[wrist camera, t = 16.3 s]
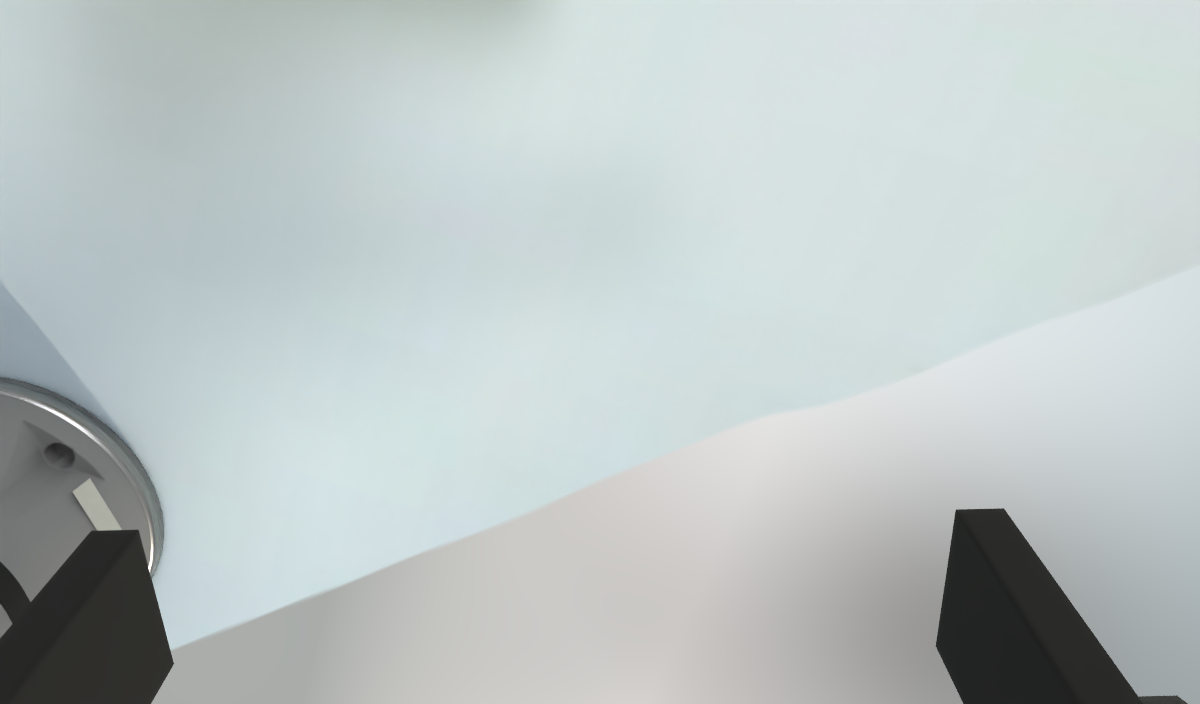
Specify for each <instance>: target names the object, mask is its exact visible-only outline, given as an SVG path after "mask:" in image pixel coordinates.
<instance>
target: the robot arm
mask: <svg viewBox="0 0 1200 704" xmlns="http://www.w3.org/2000/svg"><path fill="white" fill-rule="evenodd" d="M163 538H164V528H163V517H162V511H161V507H160V503H159V499H158V497H157V494H156V491H155V489H154V486H153V484H152V482H151V480H150V478H149V476H148V474H147V472H146V471H145V469H144V468H143V466H142V464H141V463H140V461H139V460H138V459H137V457H136V456H135V455H134V453H133V452H132V450H131V449H130V448H129V447H128V446H127V445H126V444H125V443H124V441H123V440H122V439H121V438H120V437H119V436H118V435H117V434H116V433H115V432H113V431H112V430H111V429H110V428H109V427H108V426H107V425H105V424H104V423H103V422H102V421H101V420H99V419H98V418H97V417H95V416H94V415H92V414H91V413H90V412H88V411H87V410H85V409H84V408H82V407H80V406H79V405H77V404H75V403H73V402H72V401H70V400H68V399H66V398H64V397H62V396H60V395H58V394H56V393H53V392H51V391H48V390H46V389H43V388H41V387H38V386H35V385H32V384H28V383H25V382H21V381H17V380H12V379H8V378H1V377H0V704H151V702H152V701H153V699H154V697H155V695H156V694H157V692H158V690H159V689H160V687H161V685H162V683H163V681H164V680H165V678H166V677H167V675H168V673H169V671H170V669H171V668H172V666H173V664H174V663H173V659H172V655H171V651H170V648H169V644H168V640H167V636H166V632H165V629H164V625H163V621H162V617H161V613H160V609H159V606H158V602H157V598H156V594H155V590H154V586H153V583H152V579H151V578H152V576H153V574H154V572H155V570H156V568H157V565H158V563H159V560H160V556H161V552H162V548H163ZM936 647H937V649H938V652H939V654H940V655H941V658H942V660H943V662H944V664H945V666H946V668H947V670H948V672H949V674H950V676H951V679H952V681H953V683H954V685H955V687H956V689H957V691H958V693H959V695H960V697H961V699H962V701H963V704H1187V703H1186V702H1185V701H1183V700H1182V699H1181V698H1179V697H1178V696H1150V697H1149V696H1146V697H1138V696H1137V694H1136V693H1135V692H1134V690H1133V689H1132V687H1131V686H1130V685H1129V683H1128V682H1127V681H1126V679H1125V678H1124V676H1123V675H1122V673H1121V672H1120V671H1119V669H1118V668H1117V666H1116V665H1115V664H1114V662H1113V661H1112V659H1111V658H1110V657H1109V655H1108V654H1107V652H1106V651H1105V650H1104V648H1103V647H1102V646H1101V644H1100V643H1099V641H1098V640H1097V638H1096V637H1095V636H1094V634H1093V633H1092V631H1091V630H1090V629H1089V627H1088V626H1087V624H1086V623H1085V622H1084V620H1083V619H1082V617H1081V616H1080V615H1079V613H1078V612H1077V610H1076V609H1075V608H1074V606H1073V605H1072V603H1071V602H1070V601H1069V599H1068V598H1067V596H1066V595H1065V594H1064V592H1063V591H1062V589H1061V588H1060V587H1059V585H1058V584H1057V583H1056V581H1055V580H1054V578H1053V577H1052V575H1051V574H1050V573H1049V571H1048V570H1047V568H1046V567H1045V566H1044V564H1043V563H1042V562H1041V560H1040V559H1039V557H1038V556H1037V554H1036V553H1035V552H1034V550H1033V549H1032V547H1031V546H1030V545H1029V543H1028V542H1027V540H1026V539H1025V538H1024V536H1023V535H1022V533H1021V532H1020V531H1019V529H1018V528H1017V527H1016V525H1015V524H1014V522H1013V521H1012V520H1011V518H1010V517H1009V515H1008V514H1007V512H1006V511H1005V510H1004V509H967V510H956V512H955V520H954V526H953V533H952V540H951V546H950V553H949V561H948V568H947V574H946V581H945V587H944V594H943V601H942V608H941V614H940V621H939V628H938V635H937V642H936Z"/></svg>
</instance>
